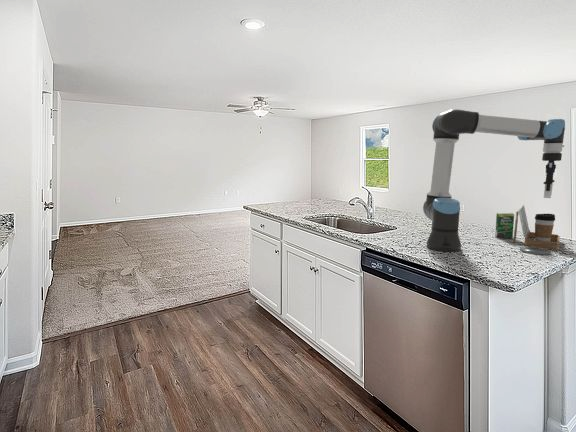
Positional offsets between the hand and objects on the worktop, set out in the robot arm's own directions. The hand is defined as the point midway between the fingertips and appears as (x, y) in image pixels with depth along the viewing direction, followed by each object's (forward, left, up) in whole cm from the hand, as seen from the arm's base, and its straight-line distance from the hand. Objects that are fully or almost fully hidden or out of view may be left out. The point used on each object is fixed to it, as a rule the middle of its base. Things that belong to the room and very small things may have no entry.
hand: (547, 196), depth 180 cm
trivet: (-19, -6, -24) cm, 31 cm away
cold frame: (-1, +2, -24) cm, 24 cm away
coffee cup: (0, 0, -24) cm, 24 cm away
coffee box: (-2, +18, -24) cm, 30 cm away
